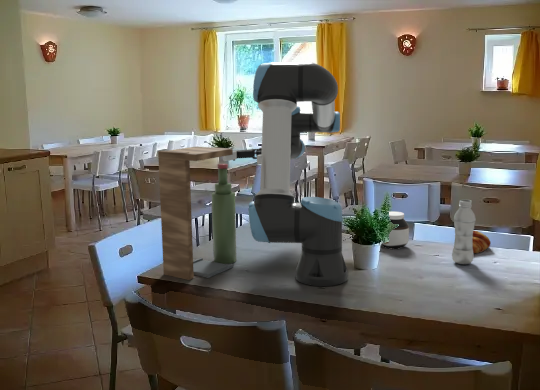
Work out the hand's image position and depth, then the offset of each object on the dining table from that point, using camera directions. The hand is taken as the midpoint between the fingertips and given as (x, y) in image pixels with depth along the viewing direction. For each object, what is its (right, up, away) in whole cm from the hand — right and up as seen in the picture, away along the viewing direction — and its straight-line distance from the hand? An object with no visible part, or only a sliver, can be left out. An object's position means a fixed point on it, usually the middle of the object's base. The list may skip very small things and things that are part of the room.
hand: (240, 158), depth 193 cm
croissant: (+79, -31, +9) cm, 85 cm away
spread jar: (+50, -30, +12) cm, 60 cm away
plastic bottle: (+70, -33, -8) cm, 78 cm away
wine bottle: (-5, -33, -2) cm, 33 cm away
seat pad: (-10, -35, -10) cm, 38 cm away
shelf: (-12, -35, -12) cm, 39 cm away
